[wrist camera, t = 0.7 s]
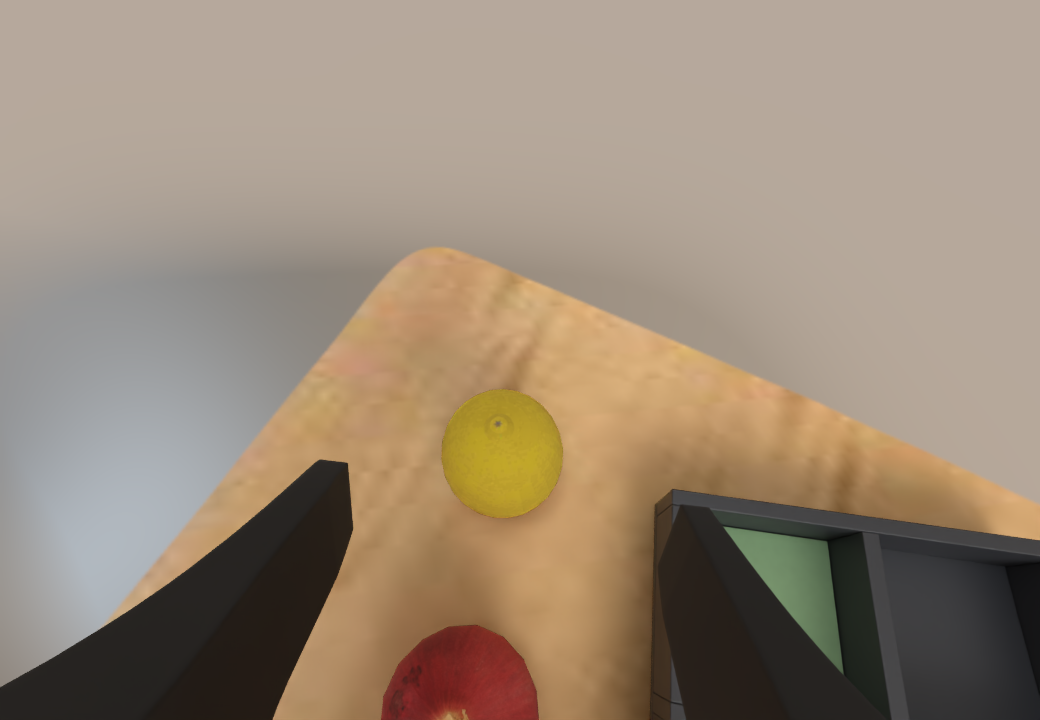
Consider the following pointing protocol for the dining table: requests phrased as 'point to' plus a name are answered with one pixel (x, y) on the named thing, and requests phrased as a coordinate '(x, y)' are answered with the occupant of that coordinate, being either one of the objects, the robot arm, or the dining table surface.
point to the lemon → (502, 453)
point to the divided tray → (885, 606)
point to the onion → (461, 680)
